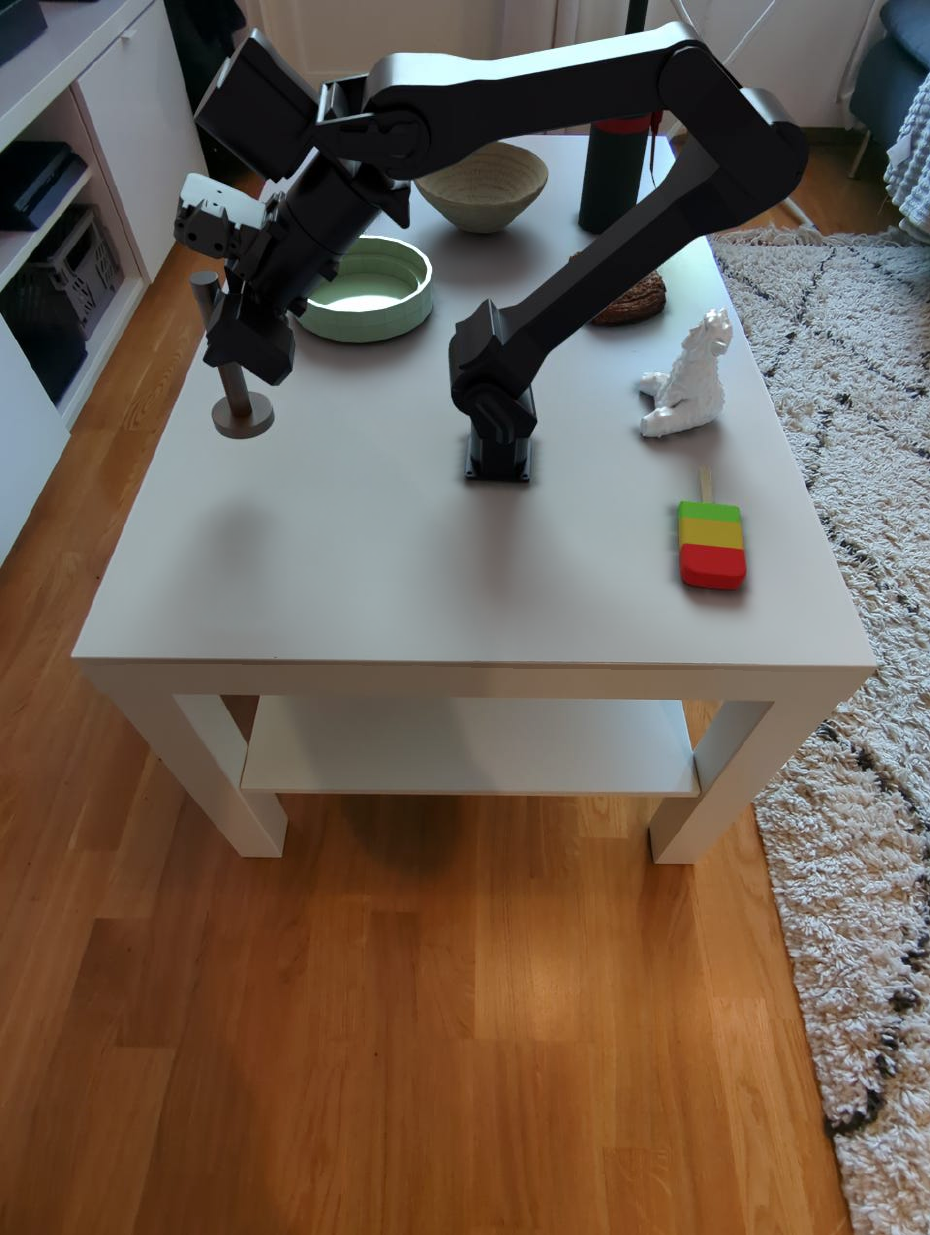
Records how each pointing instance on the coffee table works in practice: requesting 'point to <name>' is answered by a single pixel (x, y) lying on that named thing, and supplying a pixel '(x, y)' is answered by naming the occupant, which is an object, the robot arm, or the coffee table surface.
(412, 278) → the green round dish
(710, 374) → the sitting furry creature
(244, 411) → the paper towel holder
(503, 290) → the coffee table surface
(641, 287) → the pastry
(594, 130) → the wine bottle
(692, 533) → the popsicle
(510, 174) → the bowl
